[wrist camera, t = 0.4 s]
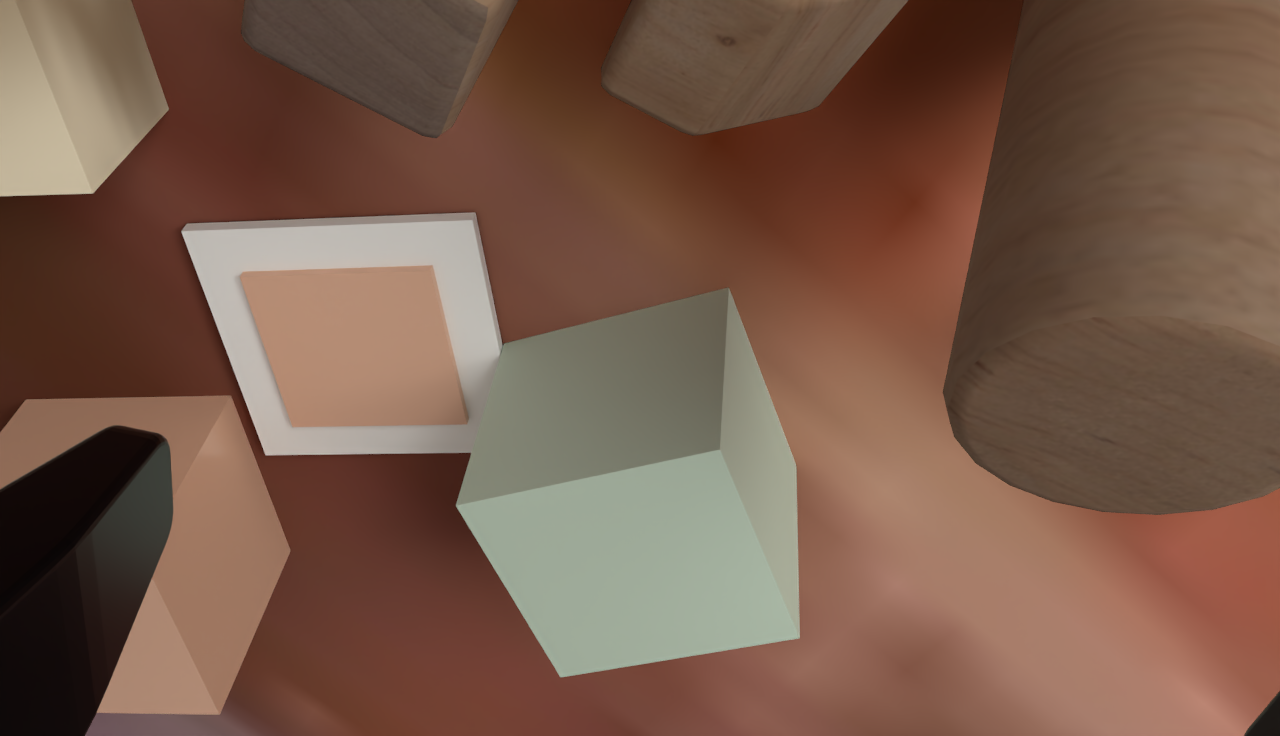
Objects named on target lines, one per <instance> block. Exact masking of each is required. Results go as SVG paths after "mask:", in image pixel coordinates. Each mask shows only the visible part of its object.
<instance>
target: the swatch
mask: <svg viewBox="0 0 1280 736" xmlns="http://www.w3.org/2000/svg"><path fill="white" fill-rule="evenodd" d="M181 232H182V235H183V238H184V240H185V243H186V246H187V248H188V251H189V254H190V256H191V259H192V261H193V264H194V267H195V269H196V272H197V275H198V277H199V280H200V283H201V285H202V288H203V291H204V293H205V296H206V299H207V301H208V304H209V307H210V309H211V312H212V315H213V317H214V320H215V322H216V325H217V328H218V330H219V333H220V336H221V338H222V341H223V344H224V346H225V349H226V352H227V354H228V357H229V360H230V362H231V365H232V368H233V370H234V373H235V376H236V378H237V381H238V383H239V386H240V389H241V391H242V394H243V397H244V399H245V402H246V405H247V407H248V410H249V413H250V415H251V418H252V421H253V423H254V426H255V429H256V431H257V434H258V436H259V439H260V442H261V444H262V447H263V450H264V452H265V455H330V454H408V453H472V449H473V446H474V443H475V439H476V436H477V432H478V429H479V426H480V422H481V419H482V416H483V412H484V409H485V406H486V402H487V399H488V395H489V392H490V389H491V385H492V382H493V379H494V375H495V372H496V369H497V365H498V362H499V359H500V355H501V352H502V348H503V345H502V340H501V335H500V330H499V325H498V320H497V315H496V310H495V306H494V301H493V296H492V291H491V286H490V281H489V276H488V271H487V266H486V262H485V257H484V252H483V247H482V242H481V237H480V232H479V227H478V222H477V217H476V213H475V212H471V213H445V214H419V215H394V216H368V217H343V218H317V219H292V220H266V221H241V222H215V223H190V224H186V225H185V227H184V228H183V229H182V231H181Z"/></svg>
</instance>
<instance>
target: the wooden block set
mask: <svg viewBox="0 0 1280 736" xmlns="http://www.w3.org/2000/svg"><path fill="white" fill-rule="evenodd" d="M907 1H908V0H631V2H630V5H629V7H628V9H627V11H626V14H625V16H624V18H623V20H622V22H621V25H620V27H619V29H618V31H617V33H616V36H615V38H614V40H613V42H612V45H611V47H610V49H609V51H608V53H607V56H606V58H605V60H604V62H603V65H602V67H601V74H602V82H601V86H602V87H603V88H604V89H605V90H606V91H607V92H608V93H609V94H610V95H612V96H613V97H615V98H617V99H619V100H621V101H623V102H625V103H627V104H629V105H631V106H633V107H635V108H636V109H638V110H640V111H642V112H644V113H646V114H648V115H650V116H652V117H654V118H656V119H658V120H659V121H661V122H663V123H665V124H667V125H669V126H671V127H673V128H675V129H677V130H679V131H681V132H683V133H686V134H689V135H692V136H693V135H703V134H708V133H712V132H717V131H721V130H726V129H730V128H735V127H739V126H744V125H748V124H753V123H757V122H762V121H766V120H771V119H775V118H780V117H785V116H789V115H794V114H798V113H802V112H806V111H809V110H811V109H813V108H815V107H817V106H819V105H820V104H821V103H822V102H823V100H824V99H825V98H826V97H827V96H828V95H829V93H830V92H831V91H832V90H833V89H834V88H835V86H836V85H837V84H838V83H839V82H840V80H841V79H842V78H843V77H844V76H845V75H846V73H847V72H848V71H849V70H850V69H851V67H852V66H853V65H854V64H855V63H856V62H857V60H858V59H859V58H860V57H861V56H862V55H863V53H864V52H865V51H866V50H867V49H868V47H869V46H870V45H871V44H872V43H873V42H874V40H875V39H876V38H877V37H878V36H879V34H880V33H881V32H882V31H883V30H884V29H885V27H886V26H887V25H888V24H889V23H890V22H891V20H892V19H893V18H894V17H895V16H896V14H897V13H898V12H899V11H900V10H901V9H902V7H903V6H904V5H905V4H906V3H907ZM517 2H518V0H245V2H244V10H243V17H242V29H241V34H242V36H243V39H244V41H245V42H246V43H247V44H248V45H249V46H250V47H252V48H253V49H254V50H255V51H256V52H258V53H260V54H262V55H264V56H266V57H268V58H270V59H272V60H274V61H276V62H278V63H280V64H282V65H284V66H286V67H288V68H290V69H292V70H294V71H296V72H298V73H300V74H302V75H304V76H306V77H308V78H310V79H312V80H314V81H315V82H317V83H319V84H321V85H323V86H325V87H327V88H329V89H331V90H333V91H335V92H337V93H339V94H341V95H343V96H345V97H347V98H349V99H351V100H353V101H355V102H357V103H359V104H361V105H363V106H365V107H367V108H369V109H371V110H373V111H375V112H377V113H379V114H381V115H383V116H385V117H386V118H388V119H390V120H392V121H394V122H396V123H398V124H400V125H402V126H404V127H406V128H408V129H410V130H412V131H414V132H416V133H418V134H420V135H422V136H426V137H432V138H437V137H438V136H440V135H441V134H442V133H444V132H445V131H447V130H448V129H449V128H451V127H452V126H453V125H454V123H455V121H456V119H457V117H458V115H459V113H460V111H461V109H462V107H463V105H464V104H465V102H466V100H467V98H468V96H469V94H470V92H471V90H472V88H473V86H474V84H475V82H476V81H477V79H478V77H479V75H480V73H481V71H482V69H483V67H484V65H485V63H486V61H487V59H488V58H489V56H490V54H491V52H492V50H493V48H494V46H495V44H496V42H497V40H498V38H499V36H500V35H501V33H502V31H503V29H504V27H505V25H506V23H507V21H508V19H509V17H510V15H511V13H512V12H513V10H514V8H515V6H516V4H517ZM943 394H944V399H945V403H946V407H947V411H948V416H949V420H950V424H951V427H952V431H953V434H954V437H955V438H956V440H957V441H958V442H959V443H960V445H961V446H962V447H963V448H964V449H965V451H966V452H967V453H968V454H969V456H970V457H971V458H972V459H973V460H974V462H975V463H976V464H978V465H979V466H981V467H982V468H984V469H986V470H987V471H989V472H990V473H992V474H993V475H995V476H996V477H998V478H999V479H1001V480H1002V481H1004V482H1006V483H1007V484H1009V485H1011V486H1013V487H1016V488H1018V489H1021V490H1024V491H1026V492H1029V493H1032V494H1034V495H1037V496H1039V497H1042V498H1045V499H1047V500H1050V501H1053V502H1057V503H1062V504H1067V505H1072V506H1077V507H1082V508H1087V509H1092V510H1097V511H1102V512H1116V513H1134V514H1153V515H1161V514H1172V513H1182V512H1193V511H1204V510H1214V509H1217V508H1221V507H1225V506H1229V505H1232V504H1236V503H1240V502H1244V501H1247V500H1251V499H1255V498H1259V497H1263V496H1265V495H1267V494H1269V493H1271V492H1273V491H1275V490H1277V489H1279V488H1280V0H1024V2H1023V6H1022V11H1021V16H1020V21H1019V26H1018V31H1017V35H1016V40H1015V45H1014V50H1013V55H1012V60H1011V65H1010V69H1009V74H1008V79H1007V84H1006V89H1005V94H1004V98H1003V103H1002V108H1001V113H1000V118H999V123H998V128H997V132H996V137H995V142H994V147H993V152H992V157H991V161H990V166H989V171H988V176H987V181H986V186H985V190H984V195H983V200H982V205H981V210H980V215H979V220H978V224H977V229H976V234H975V239H974V244H973V249H972V253H971V258H970V263H969V268H968V273H967V278H966V283H965V287H964V292H963V297H962V302H961V307H960V312H959V316H958V321H957V326H956V331H955V336H954V341H953V346H952V350H951V355H950V360H949V365H948V370H947V375H946V379H945V384H944V389H943Z"/></svg>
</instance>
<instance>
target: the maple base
mask: <svg viewBox="0 0 1280 736" xmlns="http://www.w3.org/2000/svg"><path fill="white" fill-rule="evenodd" d="M168 110H169V108H168V105H167V102H166V99H165V96H164V94H163V91H162V88H161V85H160V82H159V79H158V76H157V73H156V70H155V67H154V65H153V62H152V59H151V56H150V53H149V50H148V47H147V44H146V41H145V39H144V36H143V33H142V30H141V27H140V24H139V21H138V18H137V15H136V13H135V10H134V7H133V4H132V1H131V0H0V196H27V195H60V194H93V193H94V192H95V191H96V190H97V189H98V187H99V186H100V185H101V184H102V183H103V182H104V181H105V180H106V179H107V178H108V176H109V175H110V174H111V173H112V172H113V171H114V170H115V169H116V168H117V166H118V165H119V164H120V163H121V162H122V161H123V160H124V159H125V158H126V157H127V155H128V154H129V153H130V152H131V151H132V150H133V149H134V148H135V147H136V145H137V144H138V143H139V142H140V141H141V140H142V139H143V138H144V137H145V135H146V134H147V133H148V132H149V131H150V130H151V129H152V128H153V127H154V126H155V124H156V123H157V122H158V121H159V120H160V119H161V118H162V117H163V116H164V114H165V113H166V112H167V111H168Z"/></svg>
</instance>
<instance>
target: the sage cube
mask: <svg viewBox="0 0 1280 736" xmlns="http://www.w3.org/2000/svg"><path fill="white" fill-rule="evenodd" d="M456 507H457V509H458V510H459V512H460V513H461V515H462V517H463V518H464V520H465V522H466V523H467V525H468V527H469V528H470V530H471V532H472V533H473V535H474V536H475V538H476V540H477V541H478V543H479V545H480V546H481V548H482V550H483V551H484V553H485V554H486V556H487V558H488V559H489V561H490V563H491V564H492V566H493V568H494V569H495V571H496V572H497V574H498V576H499V577H500V579H501V581H502V582H503V584H504V586H505V587H506V589H507V590H508V592H509V594H510V595H511V597H512V599H513V600H514V602H515V604H516V605H517V607H518V608H519V610H520V612H521V613H522V615H523V617H524V618H525V620H526V622H527V623H528V625H529V626H530V628H531V630H532V631H533V633H534V635H535V636H536V638H537V640H538V641H539V643H540V644H541V646H542V648H543V649H544V651H545V653H546V654H547V656H548V658H549V659H550V661H551V662H552V664H553V666H554V667H555V669H556V671H557V672H558V674H559V676H560V677H566V676H573V675H579V674H585V673H591V672H597V671H603V670H609V669H615V668H621V667H627V666H634V665H640V664H646V663H652V662H658V661H664V660H670V659H676V658H682V657H688V656H694V655H701V654H707V653H713V652H719V651H725V650H731V649H737V648H743V647H749V646H755V645H761V644H768V643H774V642H780V641H786V640H792V639H798V638H800V626H799V576H798V526H797V476H796V463H795V461H794V458H793V456H792V453H791V450H790V448H789V445H788V442H787V440H786V437H785V434H784V432H783V429H782V427H781V424H780V421H779V419H778V416H777V413H776V411H775V408H774V405H773V403H772V400H771V397H770V395H769V392H768V390H767V387H766V384H765V382H764V379H763V376H762V374H761V371H760V368H759V366H758V363H757V360H756V358H755V355H754V353H753V350H752V347H751V345H750V342H749V339H748V337H747V334H746V331H745V329H744V326H743V324H742V321H741V318H740V316H739V313H738V310H737V308H736V305H735V302H734V300H733V297H732V294H731V292H730V289H729V287H728V288H724V289H720V290H716V291H712V292H708V293H704V294H700V295H696V296H692V297H688V298H684V299H680V300H676V301H672V302H668V303H664V304H660V305H656V306H652V307H648V308H644V309H640V310H636V311H632V312H628V313H624V314H620V315H616V316H612V317H608V318H604V319H600V320H596V321H592V322H588V323H584V324H580V325H576V326H572V327H568V328H564V329H560V330H556V331H552V332H548V333H544V334H540V335H536V336H532V337H528V338H524V339H520V340H516V341H512V342H508V343H504V345H503V348H502V352H501V355H500V359H499V362H498V365H497V369H496V372H495V375H494V379H493V382H492V385H491V389H490V392H489V395H488V399H487V402H486V406H485V409H484V412H483V416H482V419H481V422H480V426H479V429H478V432H477V436H476V439H475V443H474V446H473V449H472V453H471V456H470V459H469V463H468V466H467V469H466V473H465V476H464V480H463V483H462V486H461V490H460V493H459V496H458V500H457V503H456Z"/></svg>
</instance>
